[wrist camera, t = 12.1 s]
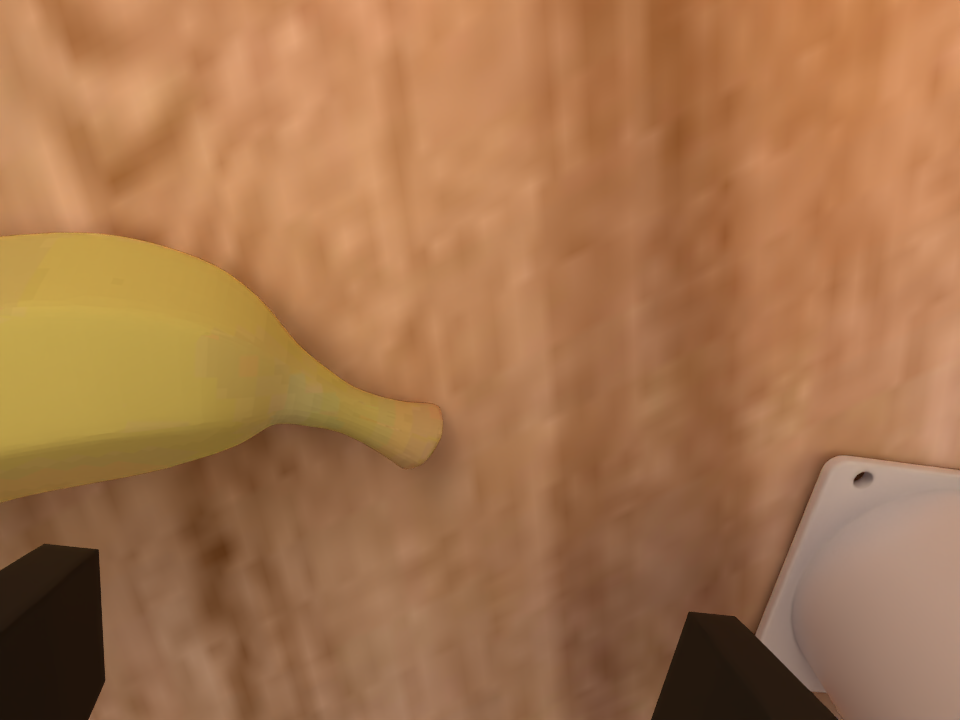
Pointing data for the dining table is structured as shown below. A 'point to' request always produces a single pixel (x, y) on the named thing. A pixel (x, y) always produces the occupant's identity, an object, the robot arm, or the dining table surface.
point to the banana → (157, 367)
